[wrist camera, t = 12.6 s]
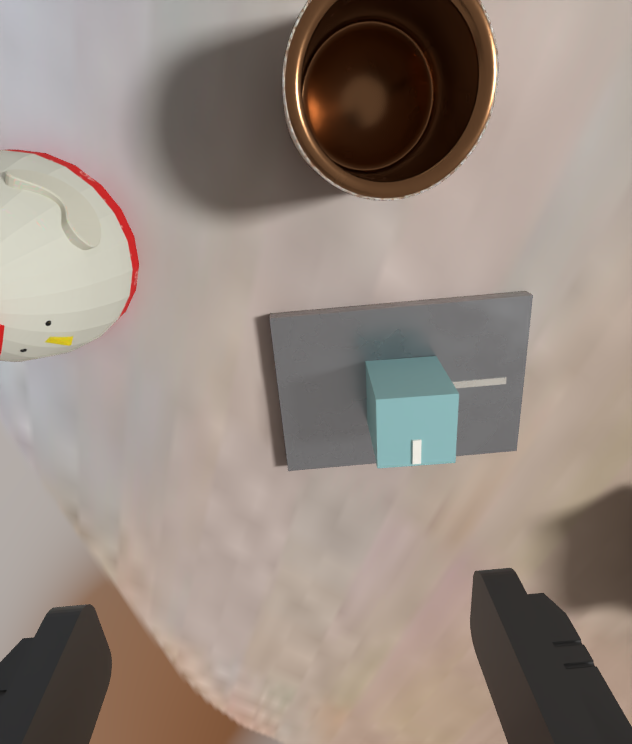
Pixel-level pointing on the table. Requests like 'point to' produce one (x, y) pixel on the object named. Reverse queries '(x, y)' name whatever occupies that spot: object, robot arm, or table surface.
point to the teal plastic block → (411, 412)
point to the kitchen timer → (59, 257)
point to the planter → (389, 91)
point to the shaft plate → (396, 341)
